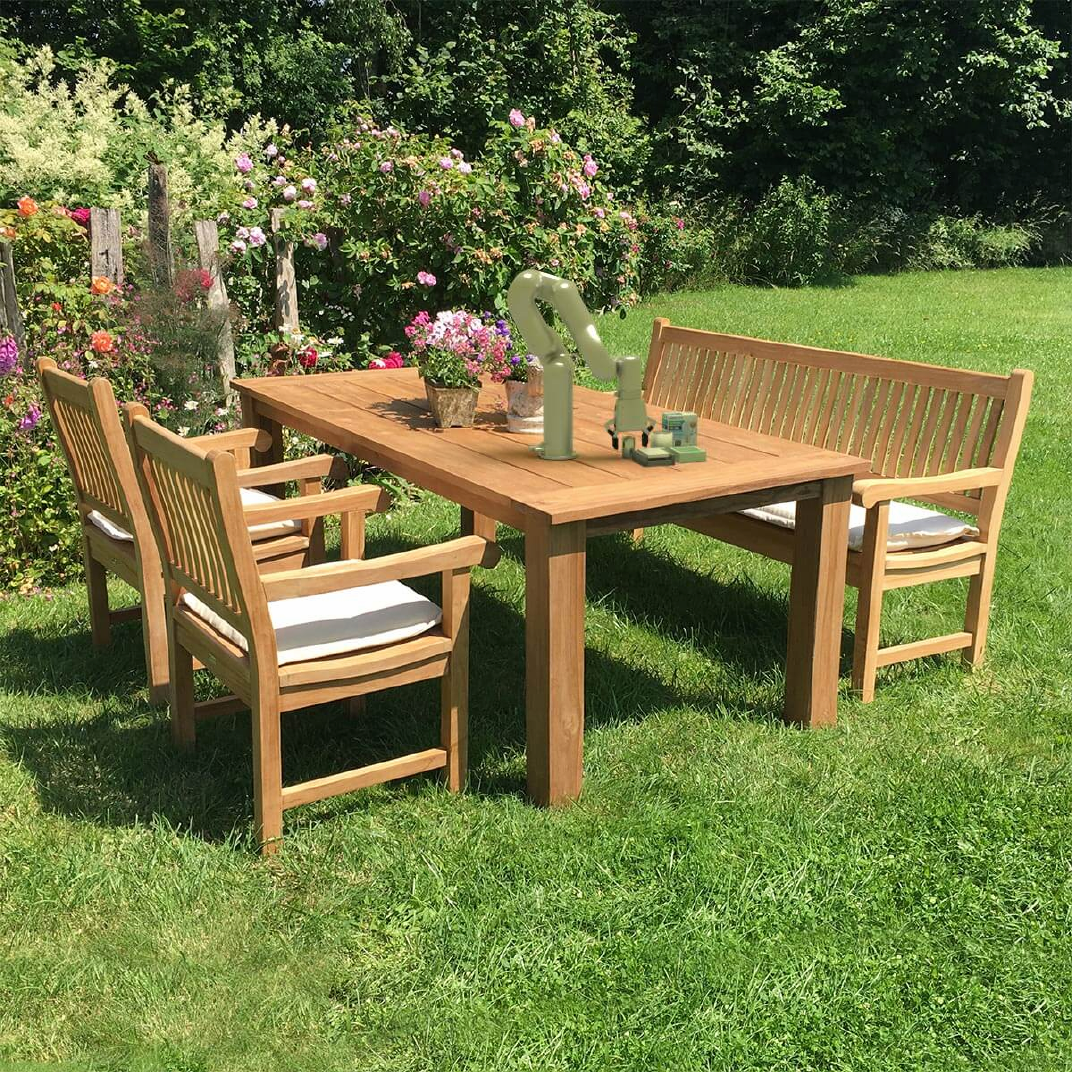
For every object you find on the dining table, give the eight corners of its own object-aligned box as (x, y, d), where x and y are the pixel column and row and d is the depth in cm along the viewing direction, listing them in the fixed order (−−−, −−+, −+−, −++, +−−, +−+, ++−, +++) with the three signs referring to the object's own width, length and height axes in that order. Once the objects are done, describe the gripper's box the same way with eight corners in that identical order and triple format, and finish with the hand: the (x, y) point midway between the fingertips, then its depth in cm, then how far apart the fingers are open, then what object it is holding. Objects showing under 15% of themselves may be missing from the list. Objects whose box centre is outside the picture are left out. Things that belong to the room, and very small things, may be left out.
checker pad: (648, 458, 370) (648, 455, 370) (637, 451, 380) (637, 448, 379) (669, 456, 372) (669, 453, 372) (657, 450, 381) (657, 447, 381)
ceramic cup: (654, 456, 384) (655, 434, 382) (647, 452, 391) (647, 430, 389) (675, 455, 386) (675, 433, 384) (667, 451, 393) (667, 429, 391)
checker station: (644, 467, 370) (644, 456, 369) (631, 459, 381) (631, 448, 380) (676, 464, 372) (676, 454, 371) (662, 457, 384) (662, 446, 383)
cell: (624, 459, 381) (624, 437, 379) (619, 456, 385) (619, 435, 383) (637, 458, 382) (637, 436, 380) (632, 455, 386) (632, 434, 384)
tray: (679, 462, 375) (679, 453, 374) (668, 457, 384) (669, 447, 383) (706, 461, 377) (706, 451, 377) (694, 455, 386) (695, 446, 385)
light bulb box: (667, 448, 398) (668, 415, 395) (660, 444, 404) (661, 412, 401) (697, 446, 401) (698, 414, 398) (689, 442, 407) (690, 410, 404)
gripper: (607, 398, 373) (608, 452, 377) (659, 394, 377) (659, 448, 381) (600, 395, 380) (600, 448, 384) (651, 391, 384) (651, 443, 388)
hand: (630, 448), depth 383 cm, fingers open, 9 cm apart
